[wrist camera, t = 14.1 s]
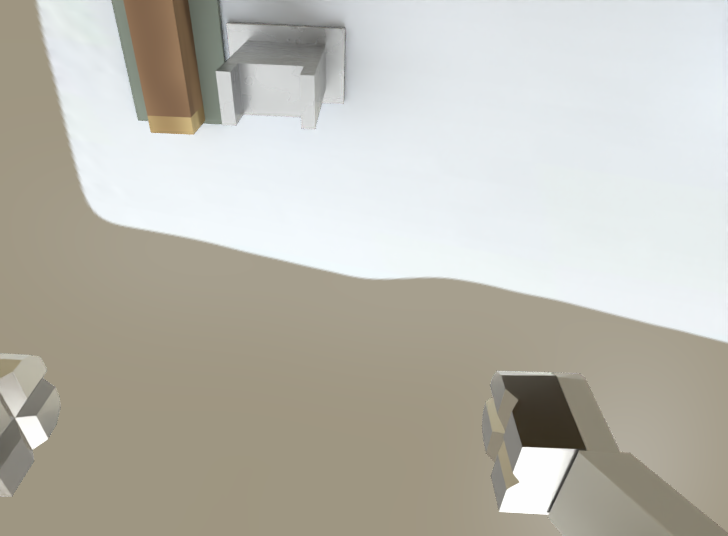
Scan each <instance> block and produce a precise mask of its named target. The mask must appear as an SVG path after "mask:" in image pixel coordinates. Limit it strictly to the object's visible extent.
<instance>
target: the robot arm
mask: <svg viewBox="0 0 728 536" xmlns="http://www.w3.org/2000/svg"><path fill="white" fill-rule="evenodd" d="M46 372H47V368H46V366H45V365H44V363H43V361H42V359H41V357H38V356H33V355H22V354H21V355H20V354H5V353H0V496H13V494H14V493H15V491H16V490H17V488H18V486H19V485H20V483H21V482H22V480H23V478H24V477H25V475H26V473H27V472H28V470H29V469H30V467H31V466H32V464H33V462H34V456H33V449H34V448H35V447H37V446H38V445H40V444H41V443H43V442H44V441H46V440H47V439H48V438H49V437H50V435H51V433H52V431H53V430H54V428H55V426H56V425H57V421H58V417H59V412H60V408H61V407H60V396H59V394H58V392H57V390H56V387H55V386H53V385H52V384H50V383H49V382H48V381H46V380H45V379H43V377H44V375H45V373H46ZM490 387H491V391H492V395H493V397H491V398H490V399H489V400H487V401H486V402H485V407H484V411H483V419H482V420H483V421H482V433H483V441H484V446H485V451H486V454H487V455H488V456H489V457H490V458H491V459H492V460H493V461H494V462H495V465H494V467H493V471H492V474H491V479H492V483H493V487H494V492H495V496H496V501H497V505H498V509H499V512H514V513H531V514H532V513H533V514H548V518H549V520H550V521H551V522H552V523H553V524H554V526H555V527H556V528H557V529H558V530H559V532H560V533H561V534H562V535H563V536H728V533H727V532H726V531H725V530H724V529H723V528H721V527H720V526H719V525H718V524H717V523H715V522H714V521H713V520H712V519H710V518H709V517H708V516H707V515H705V514H704V513H703V512H702V511H701V510H699V509H698V508H697V507H696V506H694V505H693V504H692V503H691V502H690V501H688V500H687V499H686V498H685V497H684V496H682V495H681V494H680V493H679V492H677V491H676V490H675V489H674V488H672V487H671V486H670V485H669V484H668V483H666V482H665V481H664V480H663V479H662V478H660V477H659V476H658V475H657V474H655V473H654V472H653V471H652V470H650V469H649V468H648V467H647V466H646V465H644V464H643V463H642V462H641V461H640V460H638V459H637V458H636V457H635V456H634V455H632V454H631V453H628V452H621V451H620V449H619V447H618V445H617V443H616V440H615V439H614V436H613V435H612V432H611V430H610V428H609V426H608V424H607V422H606V420H605V418H604V416H603V414H602V411H601V410H600V407H599V405H598V403H597V401H596V399H595V397H594V395H593V393H592V391H591V389H590V387H589V385H588V383H587V381H586V378H585V377H584V376H583V375H582V374H580V373H549V372H516V371H515V372H514V371H496V372H495V374H494V375H493V377H492V381H491V384H490Z"/></svg>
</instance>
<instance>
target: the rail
mask: <svg viewBox="0 0 728 536" xmlns="http://www.w3.org/2000/svg"><path fill="white" fill-rule="evenodd" d="M123 1H124V6H125V11H126V16H127V21H128V25H129V30H130V35H131V40H132V44H133V49H134V54H135V59H136V64H137V68H138V73H139V78H140V83H141V87H142V92H143V97H144V102H145V106H146V111H147V116H148V121H149V126H150V130H151V133H171V134H195V132H196V131H197V130H198V129H199V128H200V126H201V125H202V124H203V123H204V121H205V115H204V108H203V101H202V94H201V87H200V80H199V73H198V66H197V59H196V52H195V45H194V38H193V31H192V24H191V17H190V10H189V3H188V0H123Z"/></svg>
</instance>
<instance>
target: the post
mask: <svg viewBox="0 0 728 536" xmlns="http://www.w3.org/2000/svg"><path fill="white" fill-rule="evenodd" d="M226 26H227V36H228V45H229V55H230V58H229V59H228V60H227V61H225V62H224V63H223V64H222V65H221V66H220V67H219V68H218V69H217V70H216V78H217V86H218V94H219V103H220V111H221V119H222V125H234V126H236V125H237V123H238V122H239V120H240V119H241V117H242V116H243V115H263V116H285V117H301V129H315V128H316V124H317V120H318V116H319V113H320V109H321V105H322V103H335V104H344V68H345V28H338V27H317V26H296V25H275V24H254V23H234V22H228V23H227V24H226Z"/></svg>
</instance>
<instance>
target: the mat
mask: <svg viewBox="0 0 728 536" xmlns="http://www.w3.org/2000/svg"><path fill="white" fill-rule="evenodd" d="M188 3H189V10H190V17H191V24H192V31H193V38H194V45H195V52H196V59H197V66H198V73H199V80H200V87H201V94H202V101H203V108H204V115H205V121H204V123H207V124H222V119H221V111H220V103H219V94H218V86H217V78H216V70H217V69H218V68H219V67H220V66H221V65H222V64H223V63H224V62H225V53H224V44H223V36H222V27H221V18H220V9H219V0H188ZM112 5H113V9H114V14H115V18H116V23H117V27H118V32H119V36H120V41H121V45H122V50H123V54H124V59H125V63H126V68H127V72H128V77H129V81H130V86H131V90H132V95H133V99H134V104H135V108H136V113H137V117H138V120H140V121H148V116H147V111H146V106H145V102H144V97H143V92H142V87H141V83H140V78H139V73H138V68H137V64H136V59H135V54H134V49H133V44H132V40H131V35H130V30H129V25H128V21H127V16H126V11H125V6H124V1H123V0H112Z"/></svg>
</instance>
